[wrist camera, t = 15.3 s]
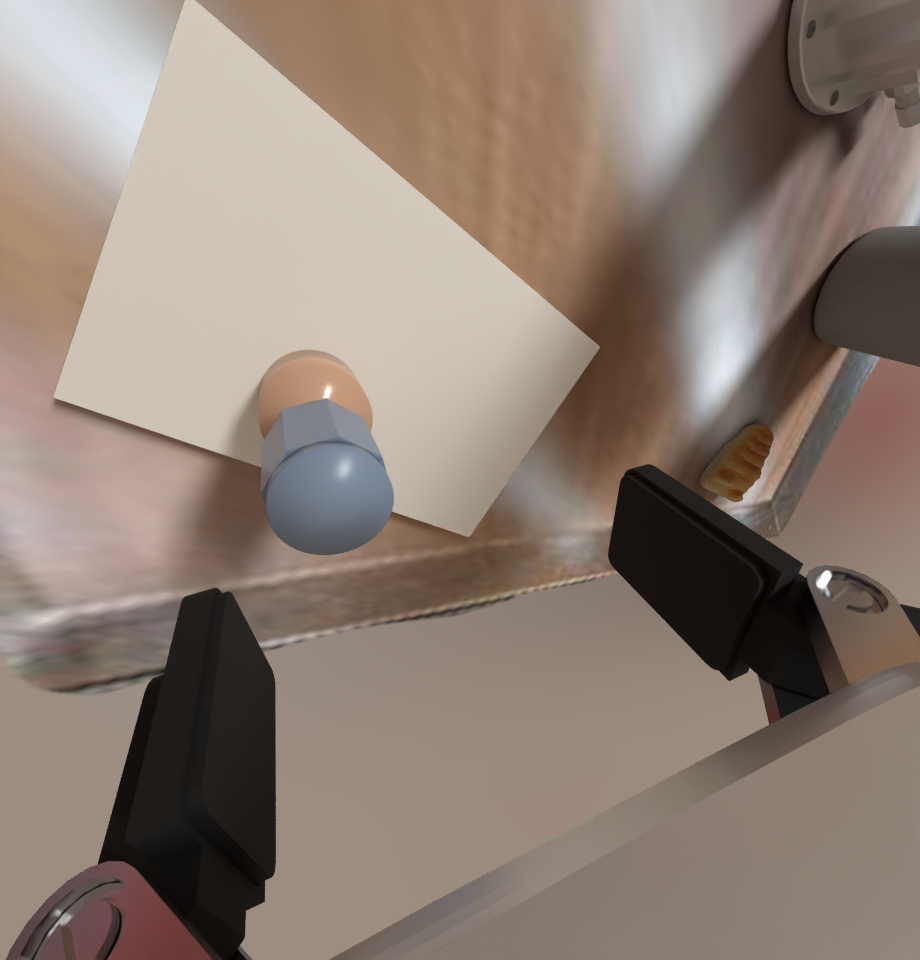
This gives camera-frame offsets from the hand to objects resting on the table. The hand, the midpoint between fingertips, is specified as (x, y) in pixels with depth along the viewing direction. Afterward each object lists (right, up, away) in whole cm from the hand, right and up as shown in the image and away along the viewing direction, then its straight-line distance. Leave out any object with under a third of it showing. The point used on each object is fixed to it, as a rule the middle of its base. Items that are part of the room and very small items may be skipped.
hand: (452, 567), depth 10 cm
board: (-6, +10, +20) cm, 23 cm away
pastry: (+32, +4, +41) cm, 52 cm away
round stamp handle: (-10, +7, +18) cm, 22 cm away
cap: (-8, +4, +14) cm, 16 cm away
